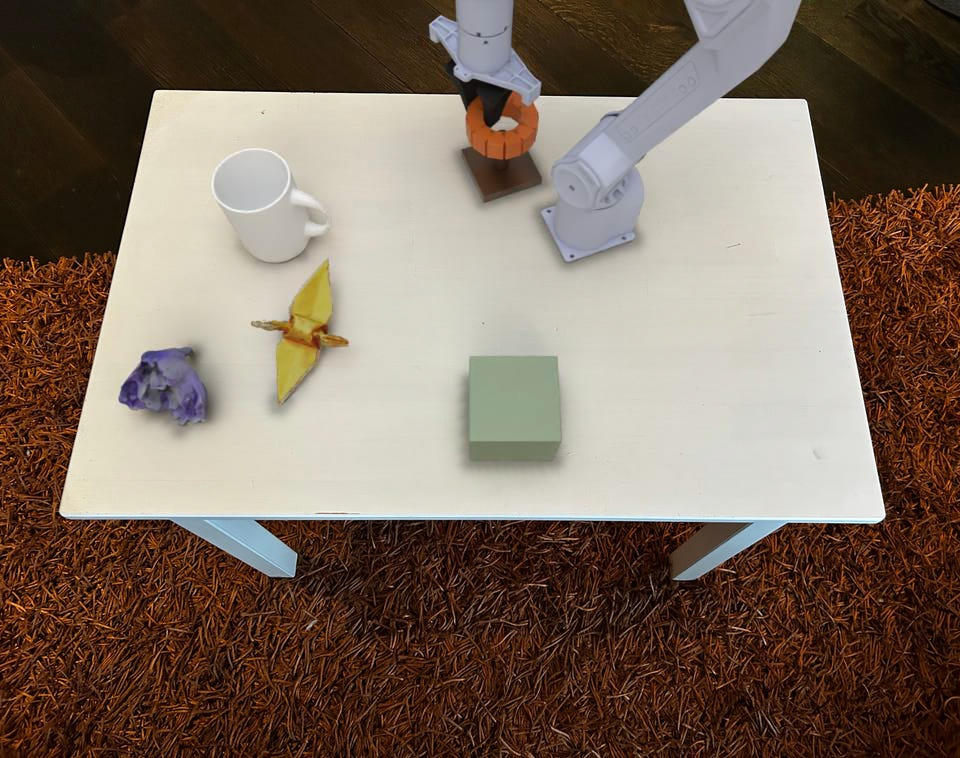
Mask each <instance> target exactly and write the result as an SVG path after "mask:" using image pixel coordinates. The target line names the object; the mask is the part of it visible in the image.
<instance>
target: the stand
mask: <svg viewBox="0 0 960 758" xmlns="http://www.w3.org/2000/svg"><path fill="white" fill-rule="evenodd" d="M498 131H502V132H504V131H508V130H506V129H499V130H498ZM528 150H529V149H528ZM528 150H527V151H526V152H525V153H524V154H523V153H521V155H520V156H517V157H513V158H510V159H505V156H504V158H503V160H501V159H495V158H488V157H487V154H486V155H485V156H484V155H482V154H481V153H479V152H478V151H477V150H475V149H474V148H473V146H471V145H470V146H468V147H465V148H462V149H460V153H461V154H460V155H461V158H462V160H463V162H464V164H465V166H466V168H467V171H468V172H469V175H470V177H471V179H472V181H473V183H474V186H475V187H476V190H477V192H478V193H479V195H480V198H481V200H482V202H483V203H486V202H487V203H488V202H490V201H493V200H496V199H499V198H502V197H506V196H509V195H511V194H515V193H517V192H520V191H523V190H527V189H530V188H532V187H536V186H539V185H541V184H542V181H543V176H542V175H541V173H540V171H539V169H538V167H537V166H536V164H535V162H534V160H533V157H532V156H531V153H530V152H529V151H528Z"/></svg>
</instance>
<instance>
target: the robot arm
mask: <svg viewBox="0 0 960 758" xmlns="http://www.w3.org/2000/svg"><path fill="white" fill-rule="evenodd" d="M683 2H684V5H685V8H686V10H687V12H688V15H689V17H690V20H691V22H692V25H693V27H694V30H695V33H696V35H697V38H698V41H697V42H696V43H695V44H694V45H693V46H692V47H691V48H690V49H689V50H687V51H686V52H685V53H684V54H683V55H682V56H681V57H680V58H679V59H678V60H677V61H675V63H673V64H672V65H671V66H670V67H669V68H668V69H667V70H666V71H665V72H664V73H662V74H661V75H660V76H659V77H658V78H657V79H656V80H655V81H654V82H653V83H652V84H650V85H649V87H648V88H646V89H645V90H644V91H643V92H642V93H641V94H639V96H637V98H635V99H634V100H633V101H632V102H631V103H629V105H627V106H626V107H625V108H623V109H621V110H612V111H611V110H610V111H609V112H607V113H605V114H604V115H603V116H602V117H601V118H600V119H599V122H598V123H597V124H596V125H595V126H594V127H593V128H591V129H590V131H589V132H587V133H586V134H585V135H584V136H583V137H582V138H581V139H580V140H578V142H577V143H575V145H574V146H572V148H571V149H570V150H569V151H567V153H565V154H564V155H563V156H562V157H560V158H559V159H558V160H556V161H555V162H554V163H553V164H552V166H551V169H550V176H551V182H552V186H553V188H554V190H555V192H556V193H557V195H558V198H557V201H556V204H555V205H553V206H549V207H546V208H543V209H542V210H541V212H540V215H541V217H542V220H543V221H544V223H545V225H546V227H547V229H548V232H549V233H550V235H551V237H552V239H553V241H554V243H555V245H556V246H557V248H558V250H559V253H560V254H561V257H562V258H563V260H564V261H565V263H571V262H575V261H578V260H580V259H583V258H585V257H589V256H592V255H594V254H597V253H600V252H603V251H607V250H608V249H609V250H610V249H611V248H614V247H618V246H621V245H623V244H626V243H628V242H633V241H634V240H635V239H636V234H635V231H634V228H635V226H636V223H637V221H638V218H639V215H640V212H641V210H642V209H643V208H642V207H643V205H644V202H645V187H644V183H643V179H642V177H641V176H642V175H641V174H640V172H639V169H638V168H637V167H636V165H637V164H639V163H640V162H642V161H643V160H644V159H645V158H646V156H647V154H648V153H649V152H650V151H652V150H653V149H655V148H656V147H657V146H658V145H659V144H661V143H662V142H663V141H665V140H666V139H668V138H669V137H670V136H672V135H673V134H674V133H676V132H677V131H678V130H679V129H681V128H682V127H684V126H685V125H687V124H688V123H689V122H691V120H693V119H694V118H695V117H697V116H699V115H700V114H701V113H703V111H705V110H706V109H708V108H709V107H710V106H712V105H713V104H715V103H716V102H717V101H718V100H719V99H721V98H722V97H724V96H725V95H726V94H728V93H729V92H730V91H732V90H733V89H734V88H735V87H737V86H738V85H740V84H741V83H742V82H743V81H745V80H746V79H747V78H749V77H750V76H752V75H753V74H754V73H756V72H757V71H759V69H761V67H763V65H764V64H765V63H766V62H767V61H769V59H770V58H771V57H772V56H773V55H774V54H775V53H776V52H777V51H779V49H780V48H781V47H782V45H783V44H784V43H785V42H786V41H787V38H788V36H789V35H790V31H791V30H792V26H793V24H794V22H795V19H796V16H797V13H798V11H799V8H800V6H801V3H802V0H683ZM513 16H514V0H455V17H456V19H455V21H454V20H451V19H448V18H447V17H445V16H443V15H442V14H440V15H439V16H438V17H437V18H435V19H434V20H433V21H431V22H430V23H429V24H428V28H429V39H430V41H432V42H434V43H436V44H439V43H441V44H442V46H443V47H444V49H445V50H446V51H447V53H448V54H449V56H450V60H448V61H447V62H446V63H445V65H444V72H445V74H447V75H448V77H449V78H450V79H451V81H452V82H453V84H454V85H455V88H456V89H457V91H458V94H459V96H460V99H461V103H462V104H463V107H464V109H465V112H466V113H467V110H468V106H469V105H470V103H471V102H472V101H473V100H474V99H476V98H477V97H478V96H479V97H480V99H481V102H482V106H483V116H484V122H485V124H486V126H488V127H489V128H491V129H492V128H493V127H494V126H495V125H496V124H497V123H498V122H500V120H501V118H502V116H501V115H502V112H503V109H504V107H505V104H506V102H507V100H508V98H509V97H510V95H511V94H512V92H513V91H515V92H517V93H518V94H520V95H521V96H522V103H524V104H525V105H527V106H529V105H530V104H532V103H535V101H537V99H539V97H541V91H542V89H541V88H542V81H540V79H537V78H536V77H535V76H534V75H533V74H532V72H530V70H529V69H528V68H527V66H526V64H525V63H524V62H523V60H522V59H521V57H519V55H518V54H517V52H516V51H515V50H514V48H513V47H512V36H513Z"/></svg>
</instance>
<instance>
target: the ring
mask: <svg viewBox="0 0 960 758" xmlns="http://www.w3.org/2000/svg"><path fill="white" fill-rule="evenodd" d="M502 117H503V118H509V119H511V120H513V122H515V123H517V125H516V126H514V128H512V129H509V130H507V131H504V132H502V131H499V130H494V129H492V127H491V128H489V127H488V126H486V124H485V122H484V116H483V106H482V102H481V99H480V97H479V96H478V97H477V98H476V99H474V100H473V101H472V102H471V103H470V105H469V106H468V110H467V112H466V114H465V118H464V119H465V134H466V138H467V139H468V143H469V144H470V147H471V146H473V148H474V149H475V150H477V151H478V152H479V153H481V154H482V155H484V156H485V155H486V154H487V157H488V158H495V159H501V160H503V158H504V156H505V159H510V158H513V157H517V156H520V155H521V153H523V154H524V153H525V152H526V151H527V150H530V148H532V147H533V146H534V145H535V143H536V140H537V135H538V130H539V120H540V115H539V111H538V109H537V106H536V105H535V102H533V103H532V104H530V105H529V106H527V105H525V104H524V103H522V96H521V95H520V94H518V93H517V92H515V91H513V92H512V94H511V95H510V97H509V98H508V100H507V102H506V104H505V107H504V109H503V112H502V115H501V118H502Z"/></svg>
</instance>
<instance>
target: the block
mask: <svg viewBox="0 0 960 758" xmlns="http://www.w3.org/2000/svg"><path fill="white" fill-rule="evenodd" d="M468 357H469V358H468V360H469V362H468V363H469V365H468V369H469V370H468V372H469V375H468V378H469V380H468V393H469V394H468V401H469V402H468V419H469V420H468V447H469V462H553V461H554V459H555V457H556V454H557V451H558V450H559V447H560V445H561V443H562V441H563V439H562V438H563V437H562V421H561V419H562V417H561V401H560V400H561V399H560V397H561V396H560V381H559V379H560V378H559V361H558V357H559V356H557V355H526V356H525V355H523V356H522V355H497V356H496V355H495V356H494V355H470V356H468Z"/></svg>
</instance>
